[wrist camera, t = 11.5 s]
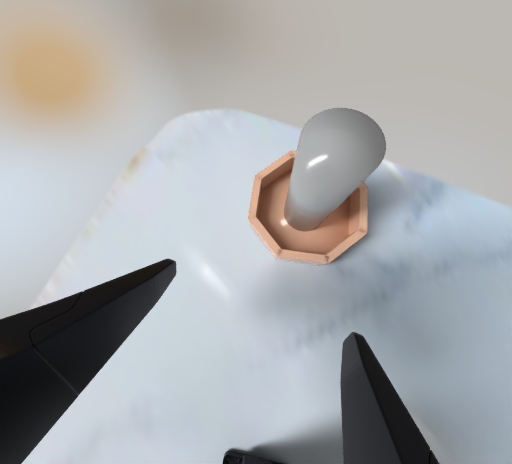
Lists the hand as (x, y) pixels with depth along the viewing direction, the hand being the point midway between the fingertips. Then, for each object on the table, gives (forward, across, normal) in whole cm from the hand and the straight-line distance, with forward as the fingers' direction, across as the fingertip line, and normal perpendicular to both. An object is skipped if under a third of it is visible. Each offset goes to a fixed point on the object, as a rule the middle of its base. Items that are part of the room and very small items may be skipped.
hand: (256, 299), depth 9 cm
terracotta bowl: (+17, -2, +2) cm, 17 cm away
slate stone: (+16, -2, +2) cm, 16 cm away
